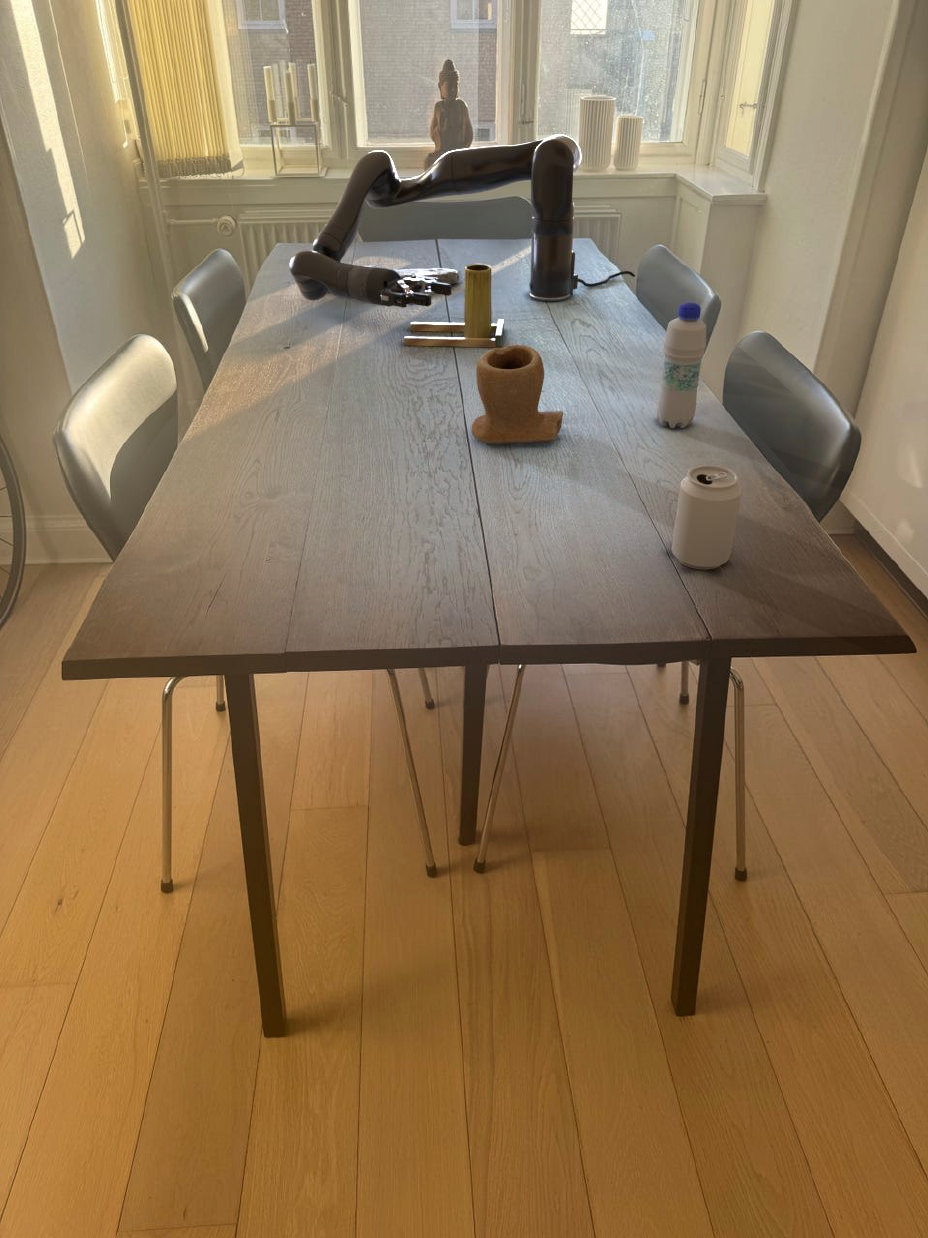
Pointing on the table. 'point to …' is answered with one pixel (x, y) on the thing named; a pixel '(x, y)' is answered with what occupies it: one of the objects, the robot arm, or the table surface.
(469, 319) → the vase
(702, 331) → the bottle
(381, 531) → the table surface
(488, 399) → the clay pipe
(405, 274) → the long grey stone
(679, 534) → the can
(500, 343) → the u-shaped frame
